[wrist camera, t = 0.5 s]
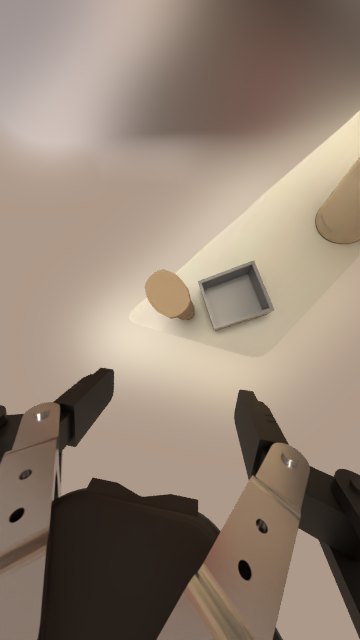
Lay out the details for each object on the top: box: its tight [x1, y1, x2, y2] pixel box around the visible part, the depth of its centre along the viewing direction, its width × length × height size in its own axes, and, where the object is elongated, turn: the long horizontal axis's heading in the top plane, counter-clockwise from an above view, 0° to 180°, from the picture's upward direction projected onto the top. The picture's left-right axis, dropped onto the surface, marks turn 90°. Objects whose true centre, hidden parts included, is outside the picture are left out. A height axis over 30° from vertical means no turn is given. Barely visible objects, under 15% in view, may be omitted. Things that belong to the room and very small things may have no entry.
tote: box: [198, 261, 274, 331], centre depth 33 cm, size 10×9×5 cm
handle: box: [145, 270, 194, 320], centre depth 30 cm, size 5×6×15 cm
